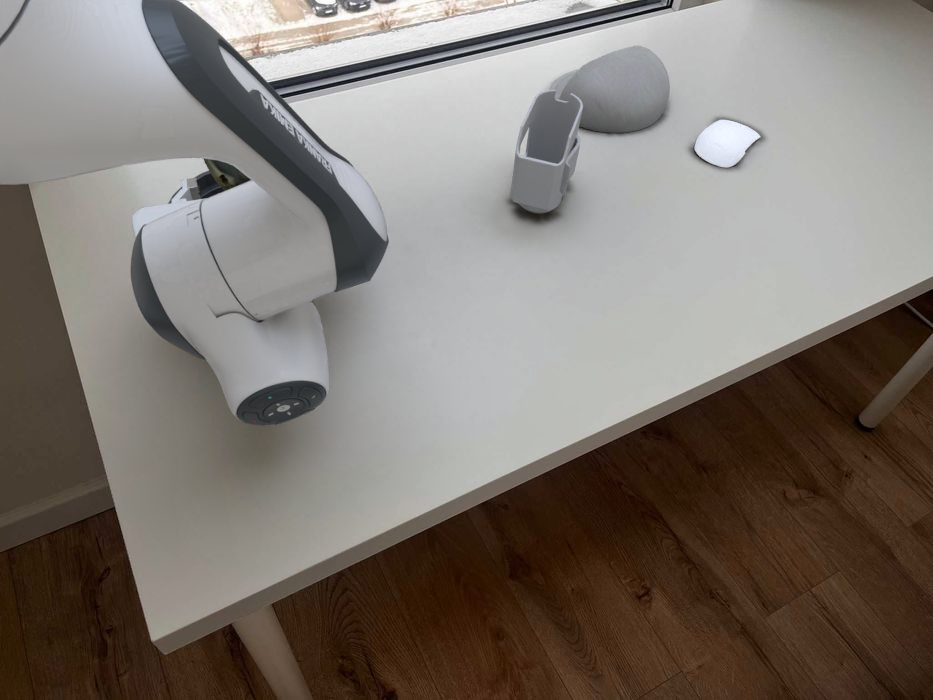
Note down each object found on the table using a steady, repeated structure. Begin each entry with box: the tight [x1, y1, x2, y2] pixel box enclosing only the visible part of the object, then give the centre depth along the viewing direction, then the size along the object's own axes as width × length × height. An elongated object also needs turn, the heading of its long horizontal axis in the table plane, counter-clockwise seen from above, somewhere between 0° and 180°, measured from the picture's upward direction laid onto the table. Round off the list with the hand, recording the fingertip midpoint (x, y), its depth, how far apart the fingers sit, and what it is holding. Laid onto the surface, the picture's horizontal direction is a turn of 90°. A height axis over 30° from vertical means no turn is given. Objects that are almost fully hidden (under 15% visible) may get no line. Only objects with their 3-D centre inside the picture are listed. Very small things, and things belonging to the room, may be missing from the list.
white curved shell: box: [694, 119, 761, 169], centre depth 100 cm, size 7×12×2 cm, turn 143°
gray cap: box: [549, 44, 671, 134], centre depth 104 cm, size 19×7×16 cm
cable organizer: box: [509, 89, 583, 215], centre depth 86 cm, size 7×12×12 cm, turn 162°
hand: (239, 177), depth 72 cm, fingers open, 8 cm apart
